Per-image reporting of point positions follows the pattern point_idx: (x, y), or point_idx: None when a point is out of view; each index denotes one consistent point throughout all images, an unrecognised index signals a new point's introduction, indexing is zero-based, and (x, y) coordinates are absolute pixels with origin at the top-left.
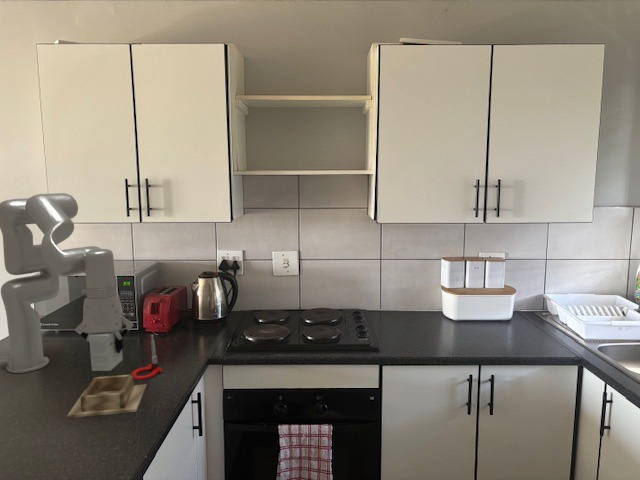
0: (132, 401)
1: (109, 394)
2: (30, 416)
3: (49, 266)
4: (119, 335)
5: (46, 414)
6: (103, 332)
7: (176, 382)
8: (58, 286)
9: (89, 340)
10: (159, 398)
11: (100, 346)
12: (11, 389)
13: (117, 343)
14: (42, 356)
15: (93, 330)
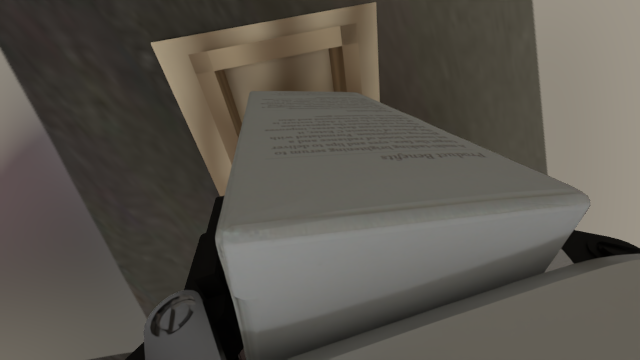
0: (202, 103)
1: (251, 52)
2: (476, 24)
3: None
4: (163, 345)
5: (438, 35)
6: (380, 333)
7: (150, 235)
8: None
9: (512, 160)
10: (134, 142)
11: (338, 134)
12: (536, 166)
13: (212, 247)
14: None
15: (631, 329)
